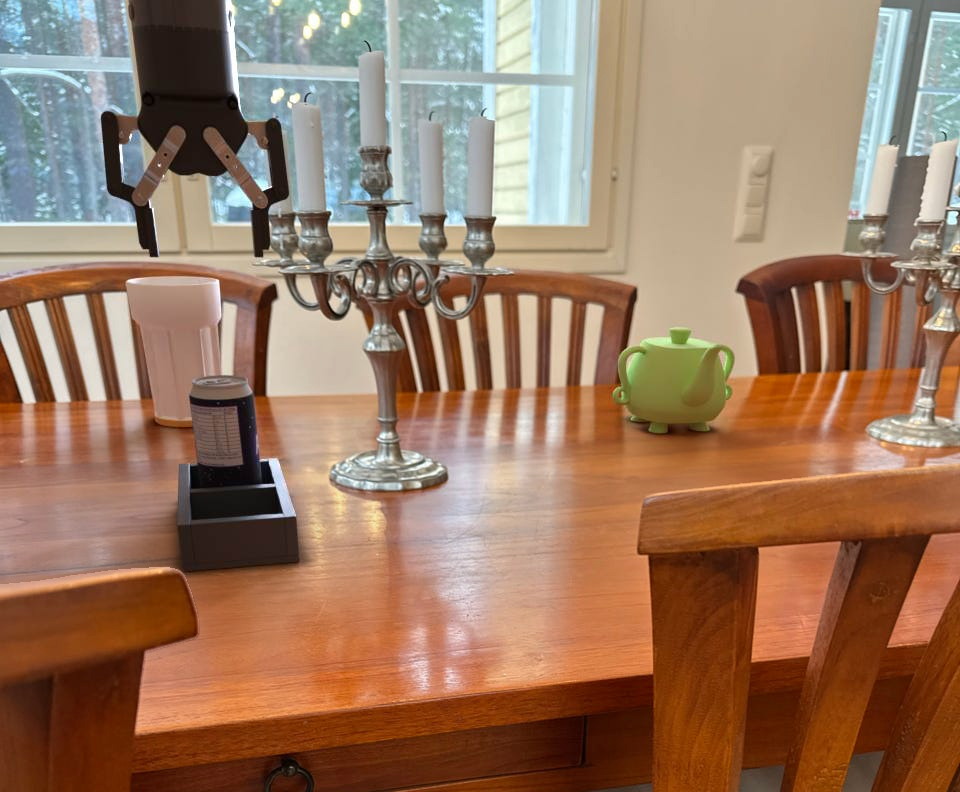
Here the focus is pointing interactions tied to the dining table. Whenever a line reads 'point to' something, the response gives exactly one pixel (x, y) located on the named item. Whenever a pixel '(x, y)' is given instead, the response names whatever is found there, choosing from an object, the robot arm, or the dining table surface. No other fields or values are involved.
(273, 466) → the holder
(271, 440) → the dining table surface
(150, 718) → the dining table surface
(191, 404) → the beverage can
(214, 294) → the cup
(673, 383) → the teapot
